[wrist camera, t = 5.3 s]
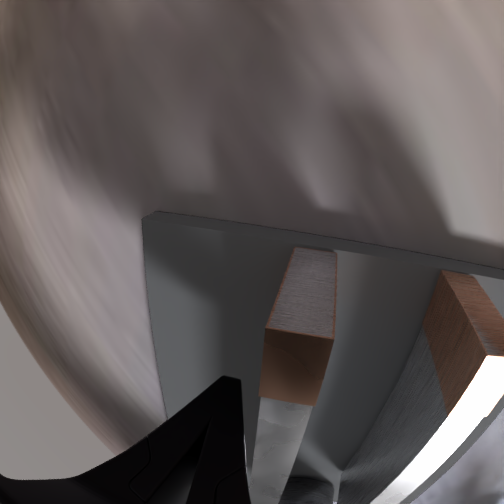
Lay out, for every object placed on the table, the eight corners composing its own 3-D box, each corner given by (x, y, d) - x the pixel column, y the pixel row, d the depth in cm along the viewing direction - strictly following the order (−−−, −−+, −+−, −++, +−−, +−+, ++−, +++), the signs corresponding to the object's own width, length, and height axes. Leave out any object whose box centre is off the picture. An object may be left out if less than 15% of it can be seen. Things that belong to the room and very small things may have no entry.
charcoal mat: (409, 492, 15) (410, 503, 15) (184, 457, 19) (179, 467, 18) (558, 281, 8) (569, 293, 7) (155, 210, 11) (141, 219, 11)
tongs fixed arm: (361, 475, 14) (355, 536, 10) (340, 473, 14) (331, 535, 10) (473, 276, 8) (526, 357, 5) (441, 270, 8) (487, 355, 5)
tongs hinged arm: (326, 502, 16) (316, 551, 12) (257, 491, 17) (241, 539, 13) (445, 269, 8) (492, 354, 5) (294, 246, 9) (264, 327, 6)
